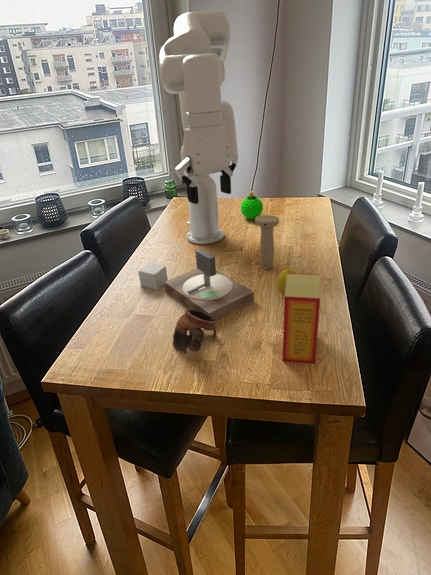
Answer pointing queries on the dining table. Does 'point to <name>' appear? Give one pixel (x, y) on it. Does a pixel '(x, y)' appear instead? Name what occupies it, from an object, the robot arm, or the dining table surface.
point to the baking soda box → (301, 317)
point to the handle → (267, 239)
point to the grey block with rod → (205, 267)
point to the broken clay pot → (192, 330)
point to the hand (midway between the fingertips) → (210, 197)
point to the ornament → (251, 206)
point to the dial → (214, 291)
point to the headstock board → (214, 307)
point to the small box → (153, 276)
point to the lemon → (283, 280)
